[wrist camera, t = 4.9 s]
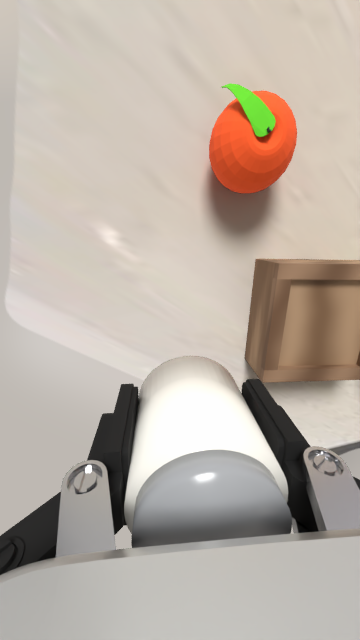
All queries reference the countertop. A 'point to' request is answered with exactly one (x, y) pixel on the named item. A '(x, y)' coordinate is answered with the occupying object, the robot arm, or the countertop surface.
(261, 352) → the tray
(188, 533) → the white rounded cylinder
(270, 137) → the clementine
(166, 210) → the countertop surface
